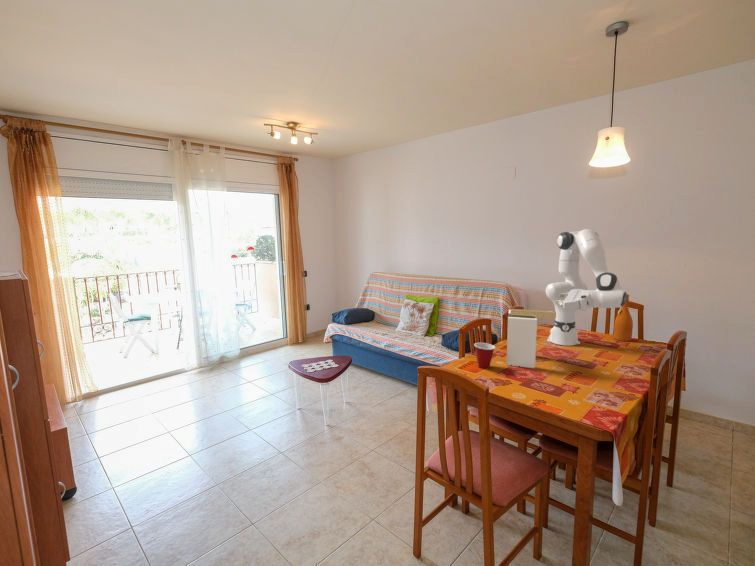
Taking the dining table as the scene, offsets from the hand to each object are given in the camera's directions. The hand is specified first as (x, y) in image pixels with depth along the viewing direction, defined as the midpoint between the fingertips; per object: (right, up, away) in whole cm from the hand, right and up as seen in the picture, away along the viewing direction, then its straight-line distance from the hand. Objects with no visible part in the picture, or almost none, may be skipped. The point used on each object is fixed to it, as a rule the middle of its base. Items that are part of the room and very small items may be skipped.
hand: (557, 298), depth 189 cm
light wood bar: (-14, -9, 0) cm, 16 cm away
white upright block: (-16, -35, +9) cm, 39 cm away
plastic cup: (-39, -36, +1) cm, 53 cm away
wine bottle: (+63, -29, +42) cm, 81 cm away
